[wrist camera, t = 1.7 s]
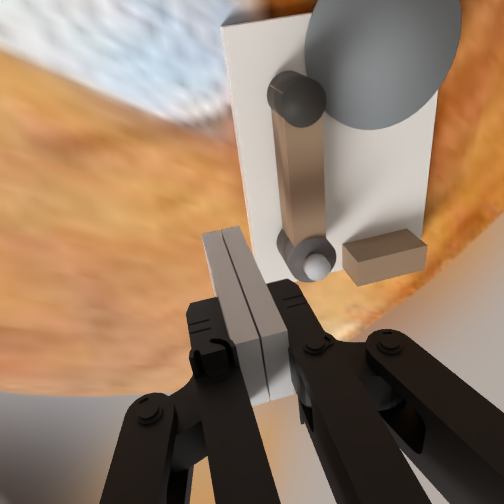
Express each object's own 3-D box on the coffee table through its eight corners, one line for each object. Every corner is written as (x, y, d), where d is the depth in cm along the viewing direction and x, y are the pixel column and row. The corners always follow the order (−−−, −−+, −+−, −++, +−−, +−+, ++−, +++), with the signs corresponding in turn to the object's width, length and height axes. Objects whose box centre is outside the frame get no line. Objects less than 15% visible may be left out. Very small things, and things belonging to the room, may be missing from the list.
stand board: (211, -32, 24) (232, -41, 19) (457, -66, 26) (537, -82, 21) (256, 282, 37) (277, 329, 31) (422, 241, 39) (467, 279, 34)
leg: (258, 75, 26) (273, 84, 23) (312, 66, 27) (333, 73, 24) (278, 263, 34) (291, 287, 31) (320, 253, 34) (336, 276, 32)
